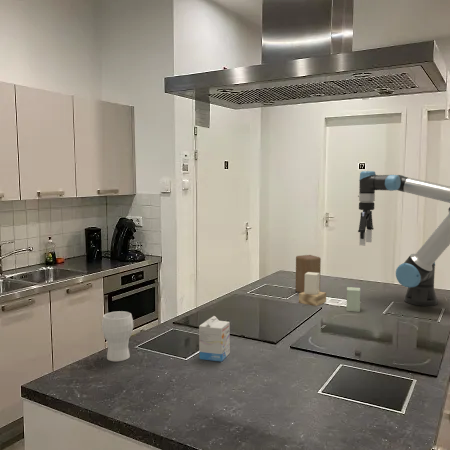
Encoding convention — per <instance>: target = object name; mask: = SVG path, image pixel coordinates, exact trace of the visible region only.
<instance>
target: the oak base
mask: <svg viewBox="0 0 450 450" xmlns="http://www.w3.org/2000/svg"><path fill="white" fill-rule="evenodd" d="M298 303H299V304H304V305H310V306H315V307H318V306H320V305H322V304H324V303H327V292H325V291H324V292H323V291H320V292H319V293H318V294H317V295H310V294H304V292H302V293H299V292H298Z"/></svg>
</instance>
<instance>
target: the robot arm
mask: <svg viewBox="0 0 450 450" xmlns="http://www.w3.org/2000/svg"><path fill="white" fill-rule="evenodd" d="M358 181H359V186H358V188H359V193H358V195H357V197H358V201H359V203H358V210H360V211H361V212H360V219H359V225H358V230H357V233H359V242H358V243H359V246H366V243H372V239H373V237H372V235H373V233H372V232H373V231H374V225H373V211H374V210H375V201H376V199H375V197H376V195H375V194H376V191H390V192H392V191H397V192H404V193H407V194H412V195H416V196H419V197H423V198H428V199H432V200H437V201H439V202H445V203H449V204H450V185H445V184H441V183H437V182H436V183H435V182H430V181H427V180H422V179H418V178H413V177H408V176H405V175H402V174H376V171H374V170H367V171H365V170H363V171H360V172H359V180H358ZM447 210H448V214H447V216H446V217H445V218H444V219H443V221H441V223H440V224H439V225H438V226H437V228H436V229H435V230H434V231H433V232H432V234H431V235H430V236H429V237H428V239H426V241H425V242H424V243H423V245H422V246H421V247H420V248H419V249H418V251H417V252H416V253H411V254H410V255H409V256H408V258H407V259H406V260H405V261H404V262H403V263H401V264H399V265H398V266H397V267H396V270H395V278H396V280H397V282H398V283H399V284H400V285H401V286H403V287H405V288H406V292H405V294H404V302H405V303H408V304H409V305H415V306H424V307H426V306H427V307H428V306H429V307H430V306H436V305H437V304H438V297H437V293H436V291H435V273H436V272H435V269H436V261H437V260H438V259H439V258H440V256H441V255H442V254H443V253H444V252H445V251H446V250H447V248H448V247H449V246H450V206H449V208H448V209H447ZM372 230H373V231H372Z"/></svg>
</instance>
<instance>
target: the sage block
mask: <svg viewBox="0 0 450 450" xmlns="http://www.w3.org/2000/svg"><path fill="white" fill-rule="evenodd" d="M345 311H346V312H355V313H356V312H358V313H360V312H361V287H354V286H353V287H351V286H350V287H349V286H347V287H346V310H345Z"/></svg>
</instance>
